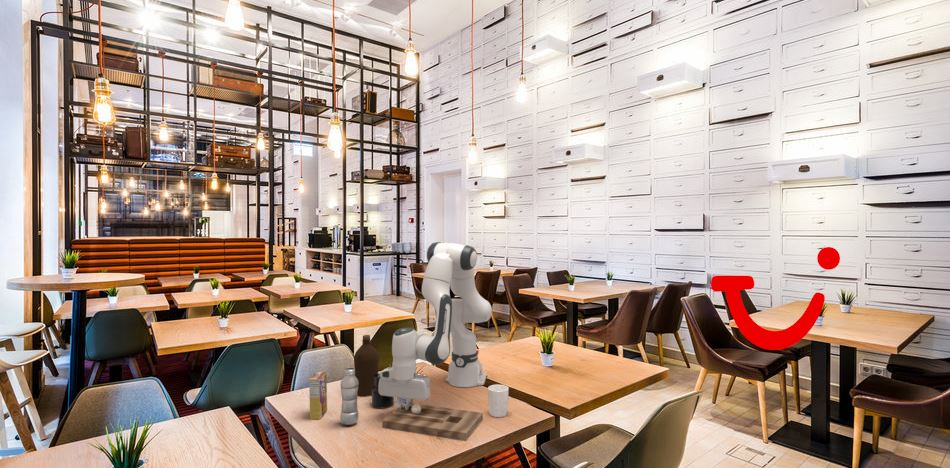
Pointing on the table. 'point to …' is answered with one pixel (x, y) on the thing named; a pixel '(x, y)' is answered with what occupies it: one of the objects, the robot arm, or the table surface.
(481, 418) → the board
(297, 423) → the table surface
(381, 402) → the ink bottle
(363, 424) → the table surface
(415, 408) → the ball
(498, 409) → the white cup
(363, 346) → the olive oil
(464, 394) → the table surface
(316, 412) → the candy box
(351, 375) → the plastic bottle
